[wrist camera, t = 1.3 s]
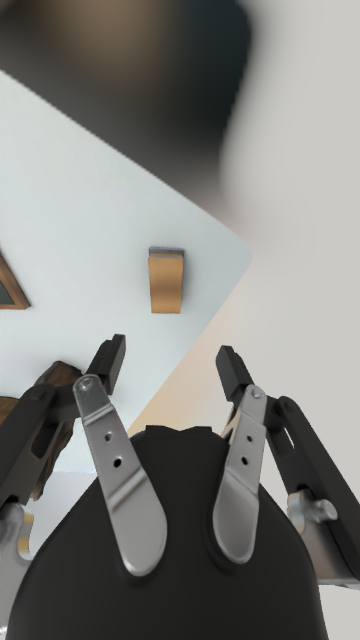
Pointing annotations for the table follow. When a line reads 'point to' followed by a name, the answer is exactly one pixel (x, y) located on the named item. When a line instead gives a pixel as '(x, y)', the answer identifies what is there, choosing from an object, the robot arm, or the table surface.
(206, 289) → the table surface
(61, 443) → the owl
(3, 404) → the wooden container
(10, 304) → the board
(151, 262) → the eraser
